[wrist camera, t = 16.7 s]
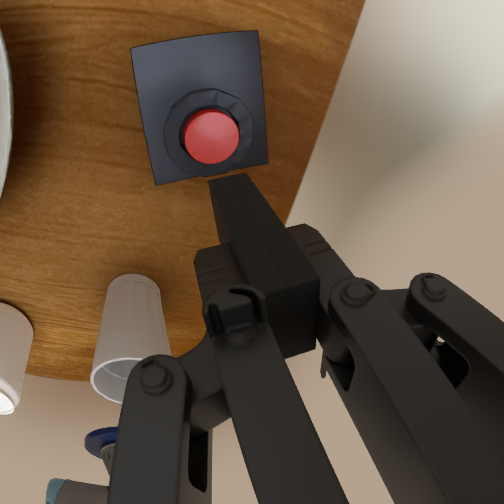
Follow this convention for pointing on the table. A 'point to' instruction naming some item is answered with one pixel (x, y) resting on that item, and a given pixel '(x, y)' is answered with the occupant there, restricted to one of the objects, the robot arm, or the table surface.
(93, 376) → the cup
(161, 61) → the button base
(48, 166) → the table surface
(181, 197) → the table surface
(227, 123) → the button
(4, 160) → the bowl
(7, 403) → the beverage can
